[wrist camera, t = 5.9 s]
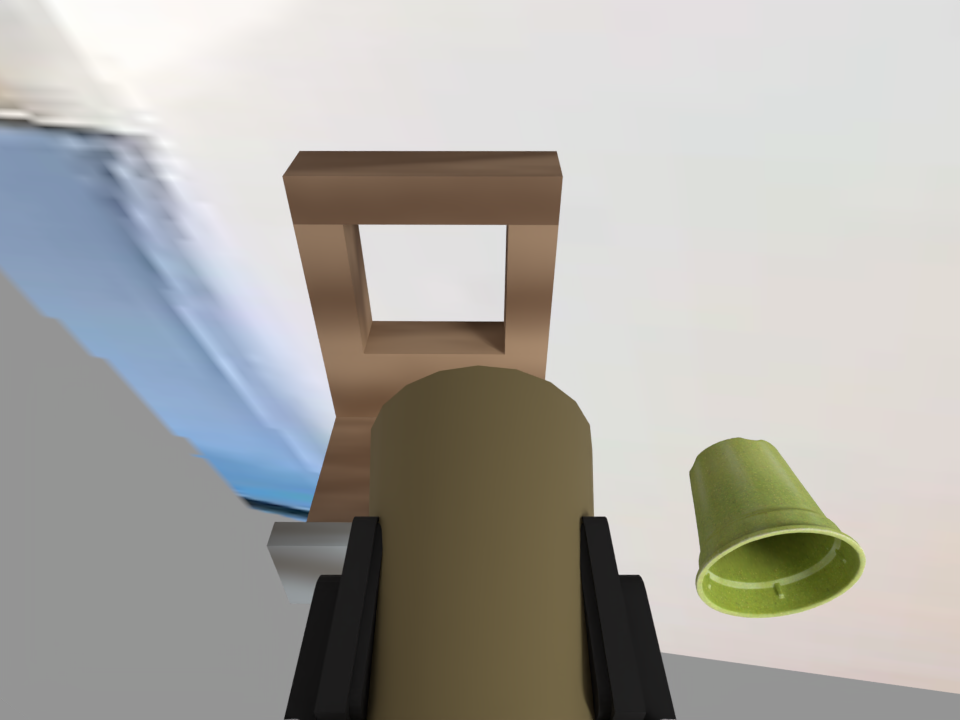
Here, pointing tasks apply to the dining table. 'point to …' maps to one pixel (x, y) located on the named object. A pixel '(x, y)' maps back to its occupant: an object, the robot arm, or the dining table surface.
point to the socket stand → (404, 344)
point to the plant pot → (764, 535)
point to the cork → (480, 550)
